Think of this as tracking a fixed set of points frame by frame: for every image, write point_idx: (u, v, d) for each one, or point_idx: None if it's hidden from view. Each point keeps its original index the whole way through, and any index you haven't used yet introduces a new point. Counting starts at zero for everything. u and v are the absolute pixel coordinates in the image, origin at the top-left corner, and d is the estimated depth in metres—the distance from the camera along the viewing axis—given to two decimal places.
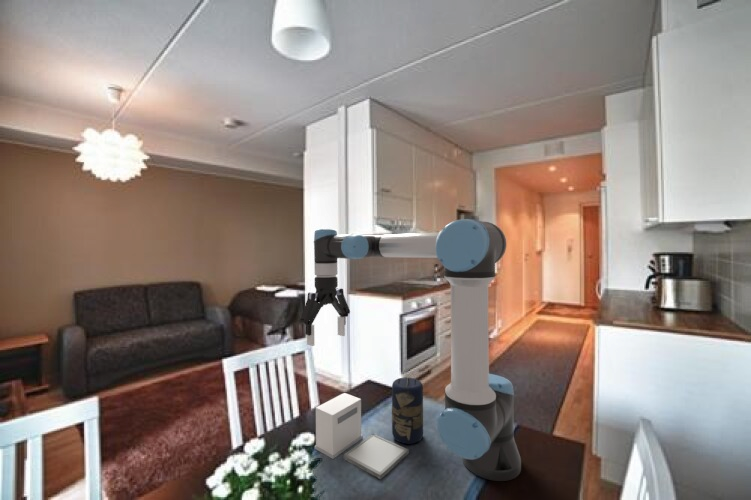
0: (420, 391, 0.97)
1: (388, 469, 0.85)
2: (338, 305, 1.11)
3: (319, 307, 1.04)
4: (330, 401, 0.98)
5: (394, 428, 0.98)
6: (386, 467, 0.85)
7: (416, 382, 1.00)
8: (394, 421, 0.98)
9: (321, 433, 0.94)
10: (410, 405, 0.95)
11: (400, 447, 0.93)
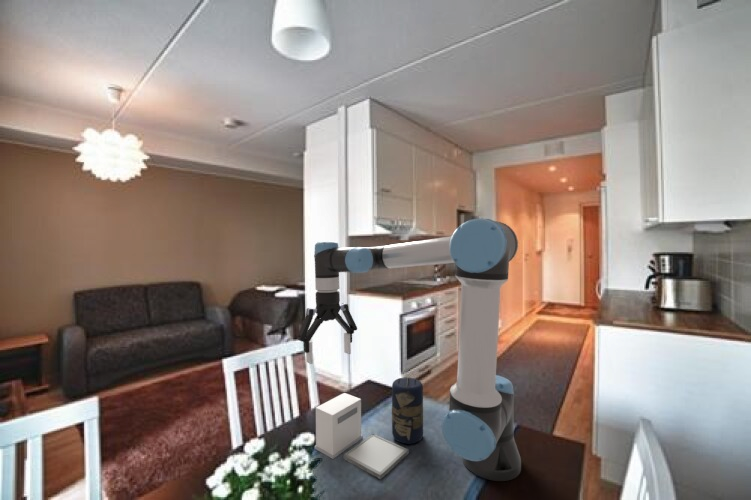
0: (420, 391, 0.97)
1: (388, 469, 0.85)
2: (342, 321, 1.05)
3: (318, 324, 1.00)
4: (330, 401, 0.98)
5: (394, 428, 0.98)
6: (386, 467, 0.85)
7: (416, 382, 1.00)
8: (394, 421, 0.98)
9: (321, 433, 0.94)
10: (410, 405, 0.95)
11: (400, 447, 0.93)
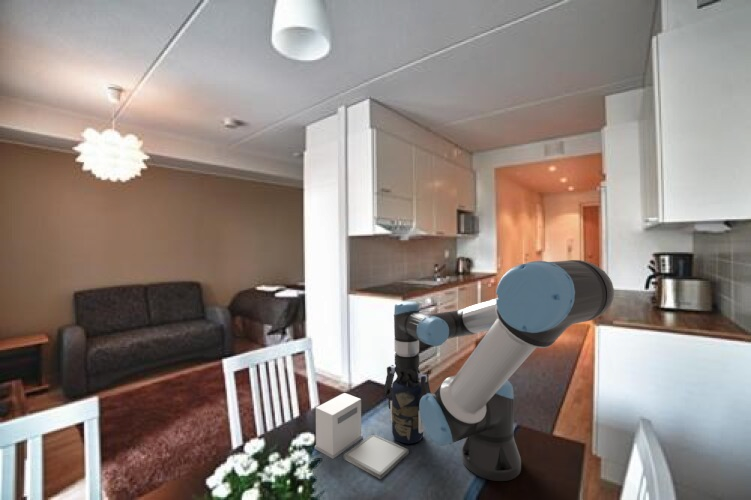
0: (420, 391, 0.97)
1: (388, 469, 0.85)
2: None
3: None
4: (330, 401, 0.98)
5: (394, 428, 0.98)
6: (386, 467, 0.85)
7: None
8: (394, 421, 0.98)
9: (321, 433, 0.94)
10: (410, 405, 0.95)
11: (400, 447, 0.93)
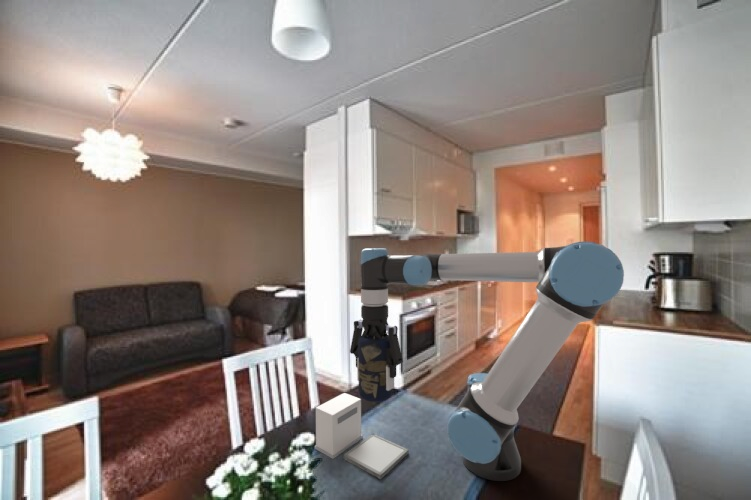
0: (388, 344, 0.88)
1: (388, 469, 0.85)
2: None
3: None
4: (330, 401, 0.98)
5: (360, 386, 0.89)
6: (386, 467, 0.85)
7: None
8: (360, 378, 0.89)
9: (321, 433, 0.94)
10: (377, 359, 0.86)
11: (400, 447, 0.93)
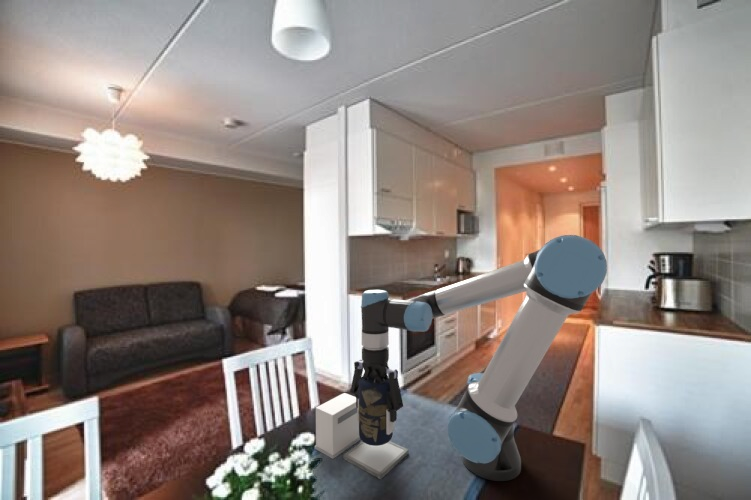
0: (389, 388, 0.88)
1: (388, 469, 0.85)
2: None
3: None
4: (330, 401, 0.98)
5: (360, 429, 0.89)
6: (386, 467, 0.85)
7: None
8: (360, 421, 0.89)
9: (321, 433, 0.94)
10: (377, 403, 0.86)
11: (400, 447, 0.93)
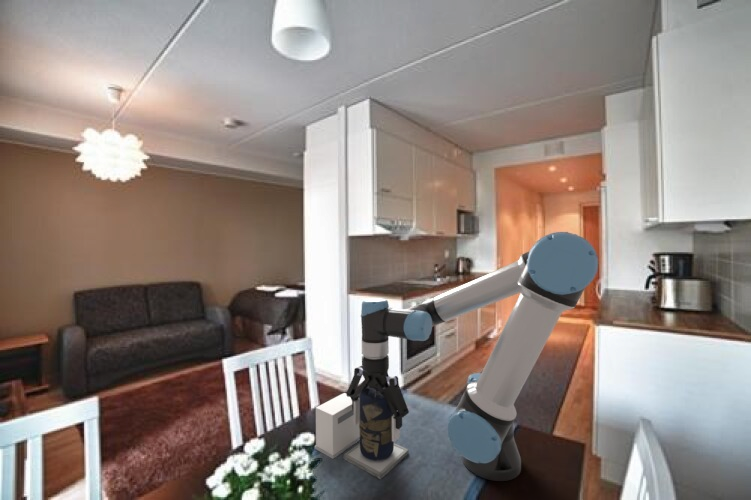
0: None
1: (388, 469, 0.85)
2: (385, 397, 0.87)
3: (361, 387, 0.93)
4: (330, 401, 0.98)
5: (361, 443, 0.89)
6: (386, 467, 0.85)
7: None
8: (361, 435, 0.89)
9: (321, 433, 0.94)
10: (378, 418, 0.86)
11: (400, 447, 0.93)
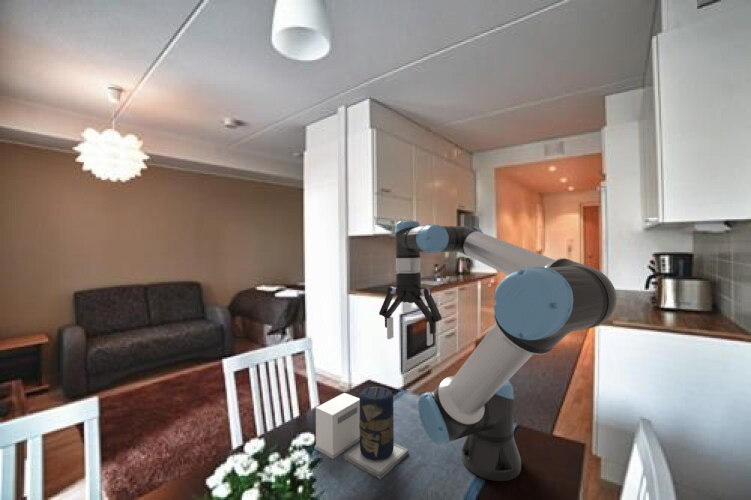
0: (389, 402, 0.88)
1: (388, 469, 0.85)
2: (420, 307, 0.97)
3: (395, 303, 1.01)
4: (330, 401, 0.98)
5: (361, 443, 0.89)
6: (386, 467, 0.85)
7: (386, 392, 0.91)
8: (361, 435, 0.89)
9: (321, 433, 0.94)
10: (378, 418, 0.86)
11: (400, 447, 0.93)
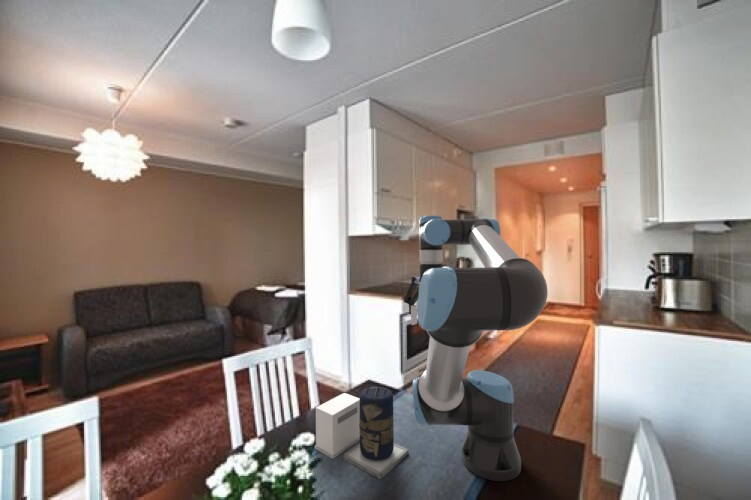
0: (389, 402, 0.88)
1: (388, 469, 0.85)
2: None
3: (418, 291, 1.09)
4: (330, 401, 0.98)
5: (361, 443, 0.89)
6: (386, 467, 0.85)
7: (386, 392, 0.91)
8: (361, 435, 0.89)
9: (321, 433, 0.94)
10: (378, 418, 0.86)
11: (400, 447, 0.93)
